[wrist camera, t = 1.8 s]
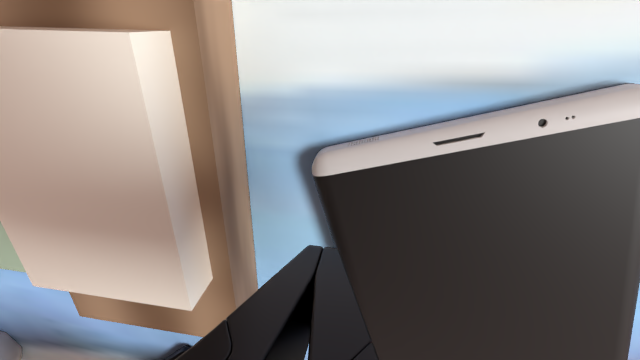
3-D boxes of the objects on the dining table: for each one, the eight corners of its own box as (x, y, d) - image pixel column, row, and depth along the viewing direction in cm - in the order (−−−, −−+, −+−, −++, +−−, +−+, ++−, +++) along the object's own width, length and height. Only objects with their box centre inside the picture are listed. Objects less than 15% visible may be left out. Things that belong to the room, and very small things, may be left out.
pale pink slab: (212, 278, 16) (191, 311, 14) (69, 258, 17) (33, 286, 15) (170, 30, 11) (128, 32, 9) (-28, 25, 12) (-99, 26, 10)
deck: (220, -112, 11) (172, -153, 9) (259, 301, 20) (240, 343, 18) (-17, -102, 13) (-121, -135, 10) (116, 279, 22) (79, 316, 19)
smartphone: (403, 451, 26) (405, 478, 25) (310, 146, 16) (303, 159, 14) (595, 460, 23) (611, 492, 21) (643, 74, 12) (681, 82, 11)
